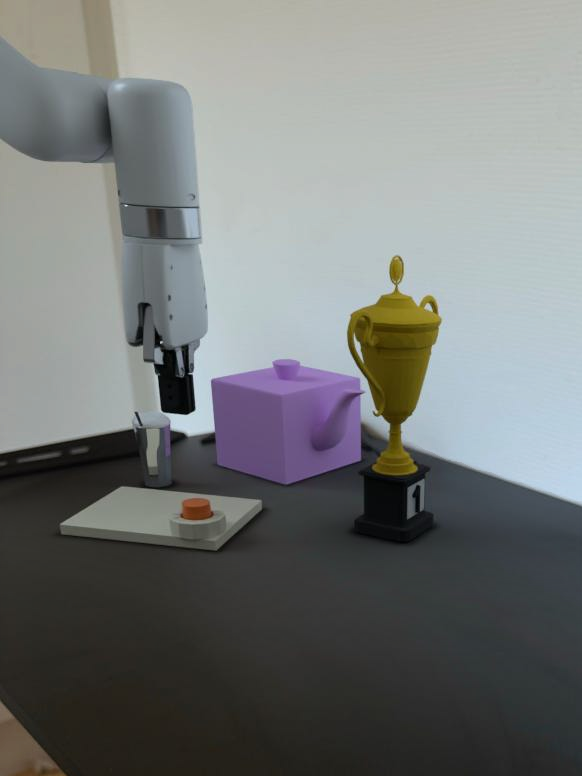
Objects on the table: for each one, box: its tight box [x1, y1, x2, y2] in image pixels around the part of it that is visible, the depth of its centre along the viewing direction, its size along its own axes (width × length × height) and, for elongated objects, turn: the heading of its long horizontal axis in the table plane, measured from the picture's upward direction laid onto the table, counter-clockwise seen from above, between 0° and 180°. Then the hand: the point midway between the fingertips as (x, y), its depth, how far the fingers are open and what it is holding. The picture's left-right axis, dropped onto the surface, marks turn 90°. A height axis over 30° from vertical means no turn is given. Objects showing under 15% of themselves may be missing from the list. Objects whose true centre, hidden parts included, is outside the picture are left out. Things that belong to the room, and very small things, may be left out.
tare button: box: [182, 498, 211, 520], centre depth 101 cm, size 3×3×2 cm
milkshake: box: [131, 411, 172, 488], centre depth 117 cm, size 4×5×10 cm
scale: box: [59, 485, 263, 552], centre depth 107 cm, size 18×14×3 cm
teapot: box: [210, 358, 366, 486], centre depth 127 cm, size 15×25×14 cm, turn 56°
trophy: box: [346, 254, 443, 543], centre depth 102 cm, size 19×10×30 cm, turn 155°
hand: (178, 411), depth 99 cm, fingers closed
